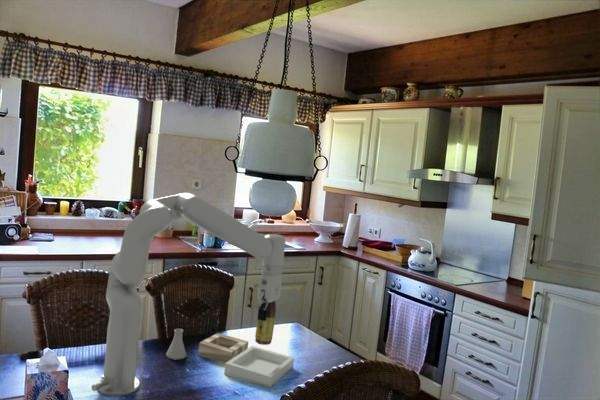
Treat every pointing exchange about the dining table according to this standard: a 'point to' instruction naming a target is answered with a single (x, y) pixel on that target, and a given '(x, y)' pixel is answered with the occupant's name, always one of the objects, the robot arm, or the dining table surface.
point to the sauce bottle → (266, 326)
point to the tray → (259, 366)
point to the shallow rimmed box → (221, 347)
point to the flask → (176, 346)
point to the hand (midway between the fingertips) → (266, 317)
